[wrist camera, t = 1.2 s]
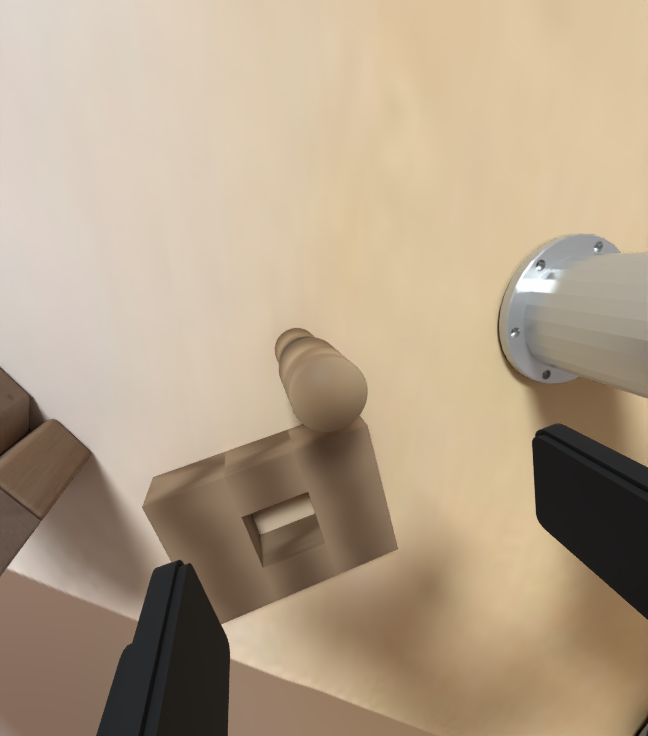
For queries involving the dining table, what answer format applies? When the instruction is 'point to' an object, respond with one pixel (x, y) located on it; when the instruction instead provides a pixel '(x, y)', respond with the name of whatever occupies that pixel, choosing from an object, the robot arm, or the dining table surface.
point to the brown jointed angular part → (30, 468)
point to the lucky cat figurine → (644, 731)
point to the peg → (319, 381)
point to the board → (266, 488)
